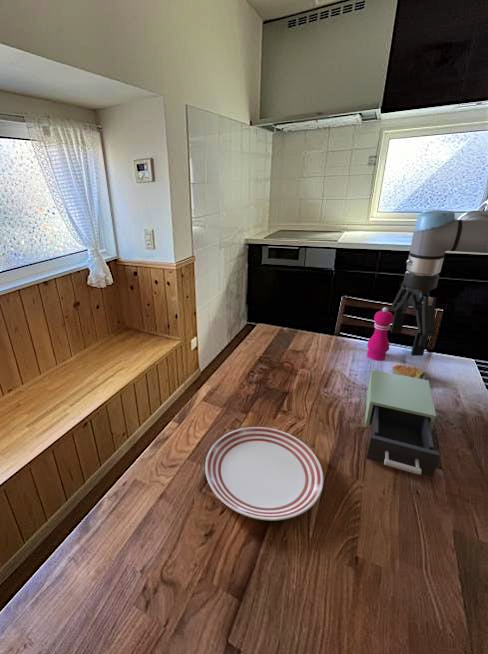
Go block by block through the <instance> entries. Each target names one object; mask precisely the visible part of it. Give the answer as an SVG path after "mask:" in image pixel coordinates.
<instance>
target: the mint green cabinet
mask: <svg viewBox="0 0 488 654" xmlns="http://www.w3.org/2000/svg"><path fill="white" fill-rule="evenodd" d="M366 390H367V391H366V399H365V401H366V402H365V403H366V404H365V421H364V427H365V428H370V429H371V422H372V415H373V410H374V405H376V406H381V407H385V408H390V409H394V410H399V411H403V412H408V413H412V414H417V415H421V416H426V417H428V418H429V424H430V429H431V433H432V432H433V428H434V425H435V422H436V418H437V413H436V408H435V403H434V398H433V393H432V389H431V384H430V380H429V379H419V378H413V377H408V376H403V375H397V374H395V373H391V372H385V371H382V370H381V371H380V370H376V369H375V370H374V369H371V371H370V375H369V381H368V385H367V389H366Z"/></svg>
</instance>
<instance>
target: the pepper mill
mask: <svg viewBox="0 0 488 654" xmlns="http://www.w3.org/2000/svg"><path fill="white" fill-rule="evenodd" d="M393 318H394V314H393V313H392V312H390V311H389V308H388V307H385V306H384V307H383V308H382V309H381V310H379V311H376V313H375V314H374V317H373V319H374V325H373V327H374V331H373V334H372V336H370V337H369V339H368V341H367V344H366V347H367V352H366V356H367V357H368V358H369V359H370V360H371V359H372V360H373V361H384V360H385V359H386V358H387V352H388V351H389V350H390V342H389V338H388V331H389V330H391V325H392V323H393Z"/></svg>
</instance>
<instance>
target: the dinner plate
mask: <svg viewBox="0 0 488 654" xmlns="http://www.w3.org/2000/svg"><path fill="white" fill-rule="evenodd" d="M204 471H205V476H206V480H207V482H208V483H207V484H208V485H209V487H210V489H211V491H212V492H213V493H214V495H215V496H216V498H218V500H220V501H221V502H222V503H223V504H224V505H225V506H227V508H229V509H231V510H232V511H234V512H236V513H238V514H240V515H241V516H245V517H248V518H250V519H255V520H259V521H260V520H261V521H271V522H272V521H284V520H285V521H286V520H288V519H292V518H295V517H298V516H301V515H302V514H304V513H306V512H307V511H309V510H310V509H311V508H312V507H313V506H314V505H315V504H316V503H317V502H318V500H319V498H320V496H321V494H322V492H323V487H324V473H323V472H324V471H323V467H322V465H321V463H320V461H319V459H318V457H317V456H316V454H315V453H314V452H313V450H312V449H311V448H310V447H309V446H308V445H307V444H305V443H304V442H303V441H302V440H301V439H299V438H297V437H295V436H294V435H292V434H290V433H288V432H285V431H283V430H279V429H276V428H272V427H265V426H248V427H241V428H238V429H235V430H232V431H230V432H227V433H226V434H224V435H222V436H221V437H220V438H218V439H217V440H216V441H215V442H214V443H213V444H212V446H211V447H210V448H209V451H208V453H207V455H206V459H205V464H204Z"/></svg>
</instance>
